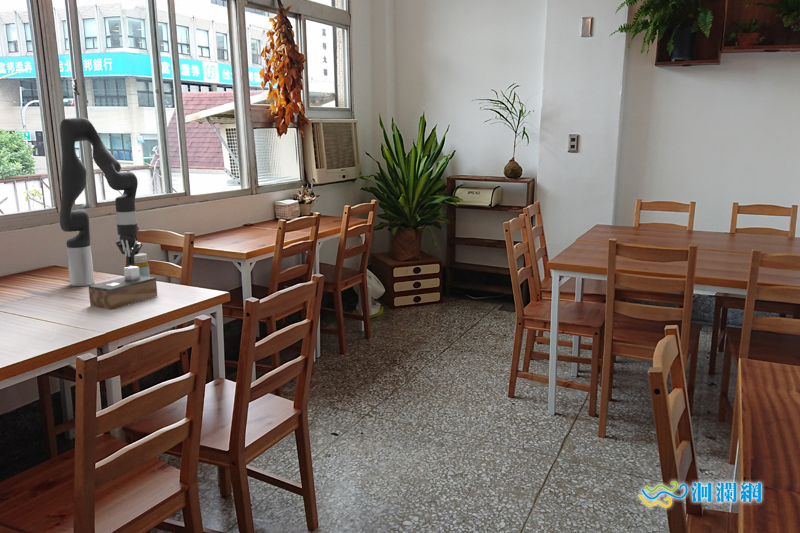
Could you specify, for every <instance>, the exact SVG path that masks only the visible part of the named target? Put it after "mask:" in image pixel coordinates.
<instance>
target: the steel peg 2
mask: <svg viewBox="0 0 800 533" xmlns="http://www.w3.org/2000/svg"><path fill="white" fill-rule="evenodd" d="M123 275H124V276H123V277H125V280H128V281H134V280H138V279H140V273H139V267H136V266H130V265H128V266H126V267H125V266H124V267H123Z"/></svg>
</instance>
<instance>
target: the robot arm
mask: <svg viewBox="0 0 800 533" xmlns="http://www.w3.org/2000/svg"><path fill="white" fill-rule="evenodd" d="M59 131H60V146H61V203H60V212H59V224H60V228H61V230H62V231H63V232H67V233H68V232H78V234H77V235H75V236H74V237H71V238H69V239H67V240H66V250H67V257H68V258H67V259H68V263H67V269H68V276H69V277H68V278H69V285H70V286H73V287H85V286H90V285H94V284H95V275H94V274H95V273H94V266H93V265H94V264H93V256H92V254H93V253H92V246H91V235H90V234H91V231H90V217H89V216H90V215H89V213H88V211H86V210H85V209H73V206H74V203H75V202H76V201H77V199H78V198H79V197H80V195H81V194H82V193H83V192H84V190H85V188H86V186H87V175H88V174H87V172H88V171H87V169H86V167H85V165H84V163H83V162H82V160H81V159H80V158H79V157H78V155H77V153H76V152H77V151H76V145H75V144H76V143H77V142H84V141H87V142H89V143H90V144H91V146H92V159H93V161H94V163H95V164H96V167H97V166H98V168H99V169H100V170H101V172H102V173H103V175H104V177H105V180H106V182H107V184H108V186H109V187H110V188H111V189H112V190H114V191H116V192H117V191H123V193H122V195H119V196H116V197H115V199H114V200H115V201H114V203H115V204H114V205H115V222H116V229H117V230H116V232H117V235H118V236H119V240H118V241H115V245H116V247H117V248H118V249H119V251H120V252H121V254H122V255H124V256H125V257H126V265H127V266H131V265H134V263H135V261H134V256H135V255H137V254H138V253H140V250H141V249H142V247H143V243H142V242H139V241H138V236H137V235H138V234H139V227H138V226H139V224H138V215H137V212H136V203H135V200H136V196H137V189H138V184H139V182H138V178H137V175H135V173H134V172H132V171H121V170H122V167H121V166H122V165H121V163H120V162H119V160H117V158H116V157H115V155H113V154H112V152H110V150H109V149H108V147H107V146H106V144H105V143H104V141H103V139H102V138H101V136H100V135H99V133H98V130H97V129H96V128H95V126H94V124H93V123H92V121H90V120H89V119H88V118H86V117H70V118H64V119H62V120H61V122H60V126H59ZM120 171H121V172H120Z"/></svg>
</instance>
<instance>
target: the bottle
mask: <svg viewBox="0 0 800 533" xmlns="http://www.w3.org/2000/svg"><path fill="white" fill-rule="evenodd" d="M134 261H135V263H134V265H131V266H136V267H139V273H140V275H142V276H148V277H151V275H150V264H149V262H148V254H147V253H146V252H145V253H144V252H139V253H138V254H137V255H135V256H134Z"/></svg>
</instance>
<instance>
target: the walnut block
mask: <svg viewBox="0 0 800 533" xmlns="http://www.w3.org/2000/svg"><path fill="white" fill-rule="evenodd" d="M110 283H120V284H118V285H114V286H109V285H106V284H110ZM157 285H158V284H157V277H155V276H154V277H153V276H150V277H148V276H142V275H140V279H138V280H134V281H128V280H125V276H122V277H119V278H116V279H112V280H107V281H103V282H98V283H96V284H95V283H94V284H91V285H87V286H88V294H89V304H90V305H91V306H90V307H94V306H95V308H100V309H107V310H110V309H111V311H112V309H113V310H115V308H116V309H119V308H122V306H123V307H126V306H128V304H130V305H133V304H136V303H139V301H140V302H143V301H146V300H145V299H147V300H149V299H148V298H150V299H153V298H152V297H154V298H156V297H155V296H157V297H158V289H157V288H158V287H157ZM142 300H143V301H142ZM135 302H136V303H135ZM132 303H133V304H132ZM125 305H126V306H125Z"/></svg>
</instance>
